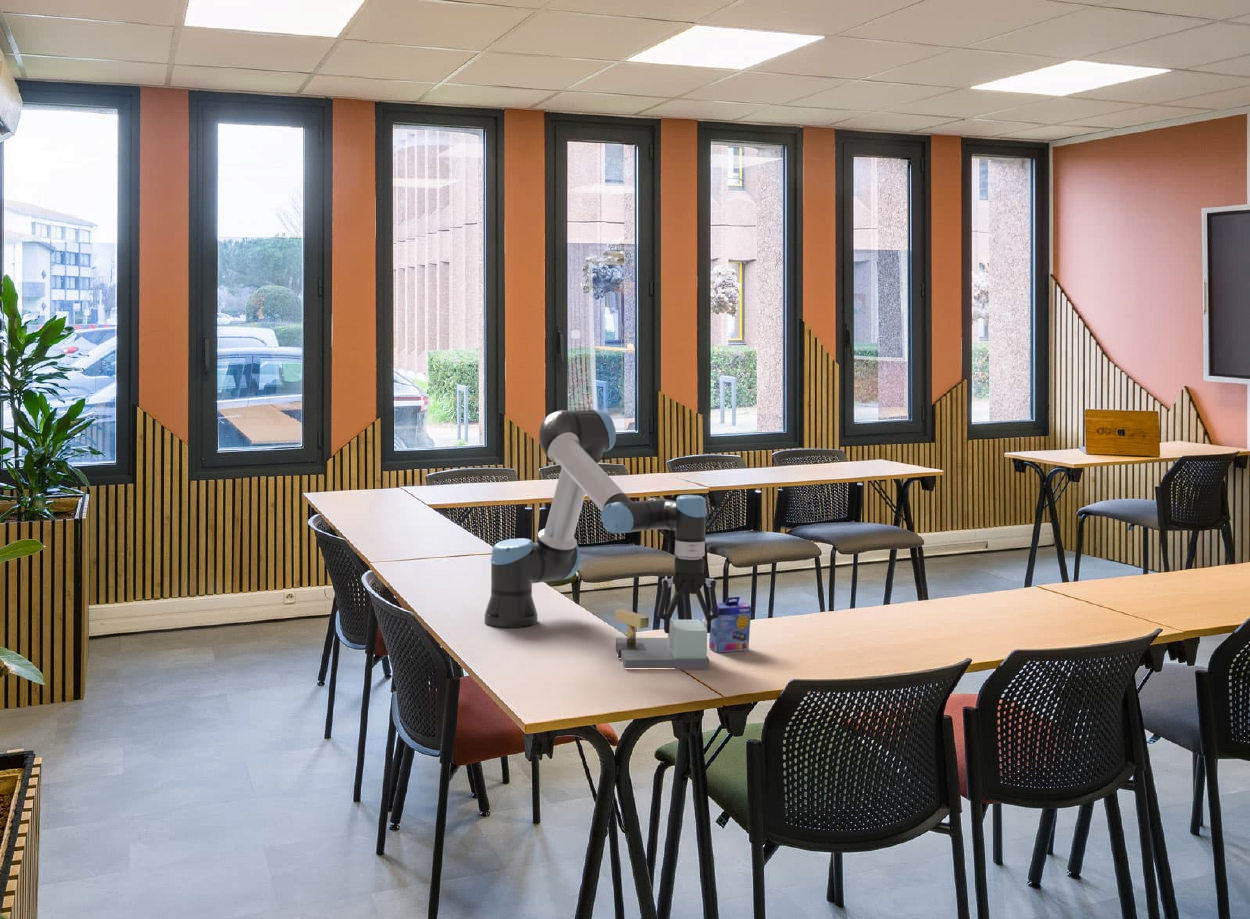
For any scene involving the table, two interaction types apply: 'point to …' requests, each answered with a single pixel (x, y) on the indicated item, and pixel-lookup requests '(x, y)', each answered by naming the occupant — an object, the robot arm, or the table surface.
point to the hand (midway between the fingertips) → (686, 645)
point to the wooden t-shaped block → (631, 623)
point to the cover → (689, 639)
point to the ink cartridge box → (730, 627)
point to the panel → (654, 655)
